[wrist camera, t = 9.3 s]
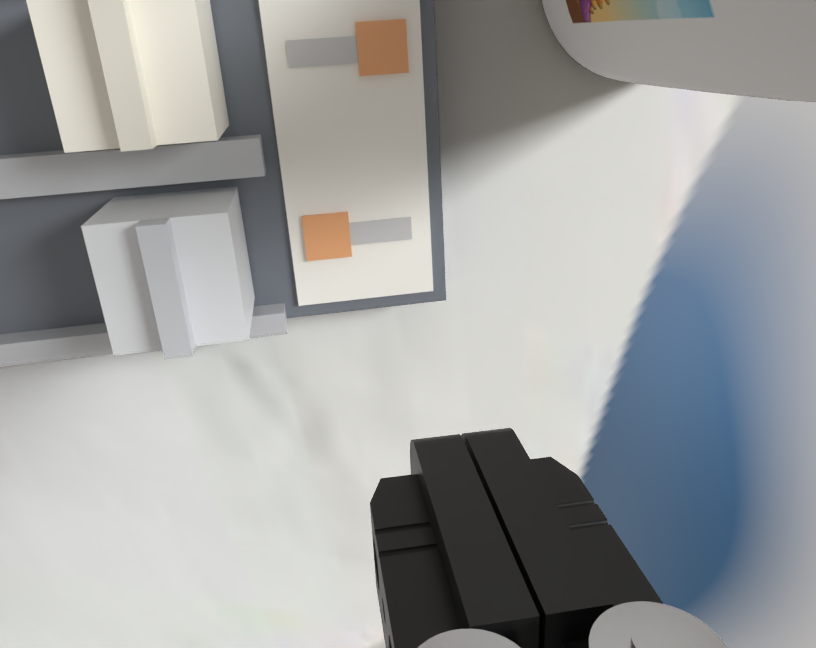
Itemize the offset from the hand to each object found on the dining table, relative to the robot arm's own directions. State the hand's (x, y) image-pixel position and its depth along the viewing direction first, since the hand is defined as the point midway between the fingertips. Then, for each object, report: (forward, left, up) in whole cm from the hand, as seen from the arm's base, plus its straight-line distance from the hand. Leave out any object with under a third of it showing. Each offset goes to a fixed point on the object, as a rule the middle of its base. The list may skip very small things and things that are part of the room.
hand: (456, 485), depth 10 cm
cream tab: (-6, -6, -15) cm, 17 cm away
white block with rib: (0, -6, -15) cm, 16 cm away
